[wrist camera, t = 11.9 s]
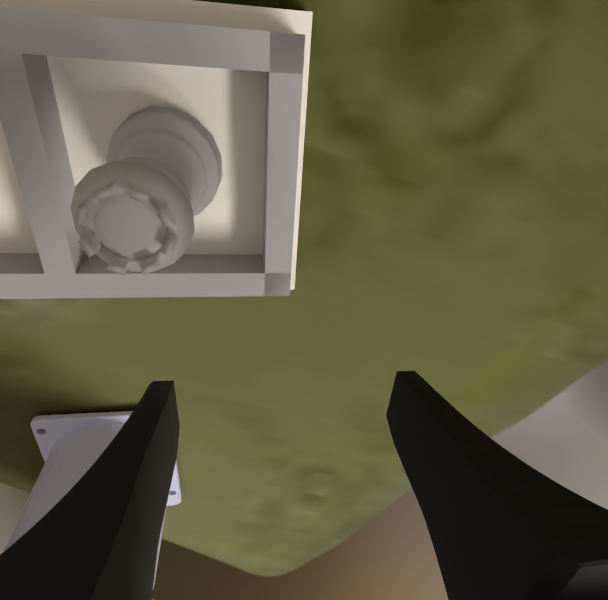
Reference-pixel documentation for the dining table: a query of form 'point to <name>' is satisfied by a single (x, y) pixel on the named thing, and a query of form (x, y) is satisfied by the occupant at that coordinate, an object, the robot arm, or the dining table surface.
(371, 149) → the dining table surface
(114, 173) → the rook chess piece
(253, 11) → the pocket tray
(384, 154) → the dining table surface
